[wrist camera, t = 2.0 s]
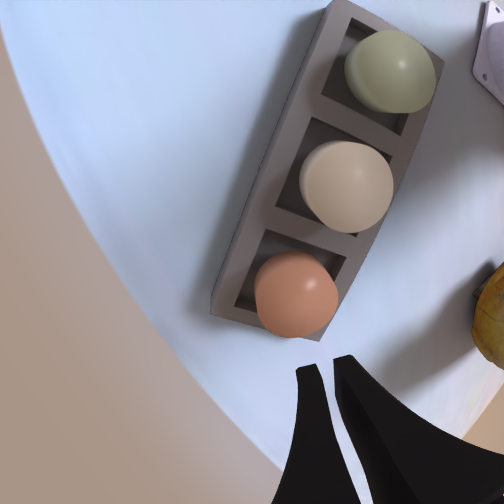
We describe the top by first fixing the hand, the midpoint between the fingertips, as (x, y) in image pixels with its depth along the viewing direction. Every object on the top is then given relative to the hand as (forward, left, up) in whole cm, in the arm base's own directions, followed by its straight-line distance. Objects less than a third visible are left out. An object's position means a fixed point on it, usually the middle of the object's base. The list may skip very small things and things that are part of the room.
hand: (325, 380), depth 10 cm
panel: (0, -6, -9) cm, 11 cm away
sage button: (0, -12, -7) cm, 14 cm away
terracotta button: (0, 0, -7) cm, 7 cm away
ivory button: (0, -6, -7) cm, 9 cm away
